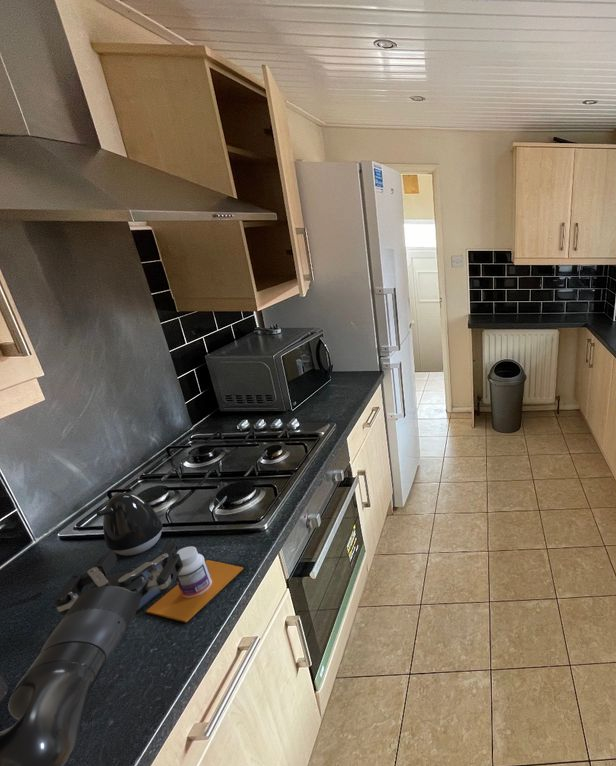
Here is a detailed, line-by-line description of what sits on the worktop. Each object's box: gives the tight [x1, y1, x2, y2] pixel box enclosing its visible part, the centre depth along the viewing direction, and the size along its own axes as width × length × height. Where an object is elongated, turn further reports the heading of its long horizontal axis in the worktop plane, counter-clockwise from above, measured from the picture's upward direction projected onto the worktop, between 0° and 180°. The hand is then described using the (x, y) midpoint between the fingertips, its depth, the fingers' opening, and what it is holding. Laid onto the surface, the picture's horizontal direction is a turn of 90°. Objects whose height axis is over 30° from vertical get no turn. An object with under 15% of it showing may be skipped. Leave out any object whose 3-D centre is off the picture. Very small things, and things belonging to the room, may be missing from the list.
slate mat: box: [137, 556, 176, 611], centre depth 92 cm, size 14×10×1 cm
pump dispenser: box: [95, 492, 163, 556], centre depth 98 cm, size 10×10×15 cm
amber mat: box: [145, 559, 244, 623], centre depth 89 cm, size 14×10×1 cm
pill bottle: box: [175, 545, 212, 598], centre depth 87 cm, size 5×5×10 cm
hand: (143, 549), depth 72 cm, fingers open, 8 cm apart
